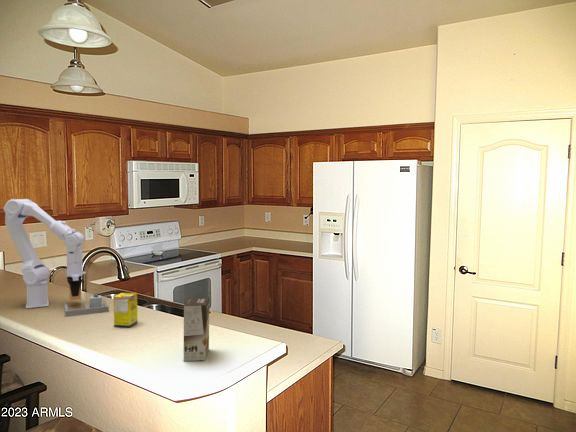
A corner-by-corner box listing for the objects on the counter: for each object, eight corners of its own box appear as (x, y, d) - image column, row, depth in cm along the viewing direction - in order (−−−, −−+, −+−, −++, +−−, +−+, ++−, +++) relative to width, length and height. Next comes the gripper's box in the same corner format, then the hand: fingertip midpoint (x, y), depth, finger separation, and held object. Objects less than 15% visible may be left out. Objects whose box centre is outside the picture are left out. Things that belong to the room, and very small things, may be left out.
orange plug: (69, 298, 173) (69, 283, 173) (80, 297, 175) (80, 283, 175) (69, 300, 170) (69, 285, 169) (80, 299, 172) (80, 285, 171)
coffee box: (206, 361, 119) (206, 305, 118) (183, 361, 118) (183, 305, 117) (209, 349, 128) (209, 297, 127) (188, 349, 127) (188, 297, 126)
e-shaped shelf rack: (64, 309, 167) (64, 304, 167) (105, 304, 174) (105, 300, 174) (65, 316, 158) (65, 311, 157) (108, 311, 165) (108, 306, 165)
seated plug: (90, 308, 169) (89, 293, 169) (100, 307, 171) (100, 292, 170) (90, 311, 165) (90, 296, 165) (101, 309, 167) (101, 295, 167)
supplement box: (137, 322, 152) (137, 292, 151) (129, 328, 146) (129, 297, 145) (122, 321, 152) (121, 292, 152) (113, 327, 147) (113, 296, 146)
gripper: (86, 264, 167) (87, 297, 168) (84, 258, 180) (84, 290, 181) (66, 265, 164) (67, 299, 164) (65, 259, 176) (65, 291, 177)
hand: (74, 294), depth 172 cm, fingers closed on orange plug, 4 cm apart
